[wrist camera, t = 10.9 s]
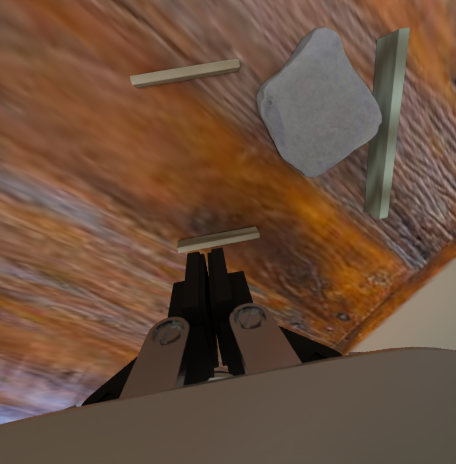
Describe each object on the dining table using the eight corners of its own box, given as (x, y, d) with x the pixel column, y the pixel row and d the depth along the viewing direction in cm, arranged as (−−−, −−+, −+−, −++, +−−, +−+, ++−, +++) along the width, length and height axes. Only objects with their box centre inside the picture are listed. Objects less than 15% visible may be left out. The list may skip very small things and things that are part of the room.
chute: (371, 209, 32) (387, 217, 29) (179, 245, 31) (177, 257, 29) (386, 38, 25) (409, 27, 22) (135, 79, 24) (126, 74, 21)
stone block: (301, 178, 32) (375, 121, 28) (309, 192, 28) (398, 126, 24) (239, 103, 28) (316, 24, 24) (238, 105, 24) (330, 10, 20)
